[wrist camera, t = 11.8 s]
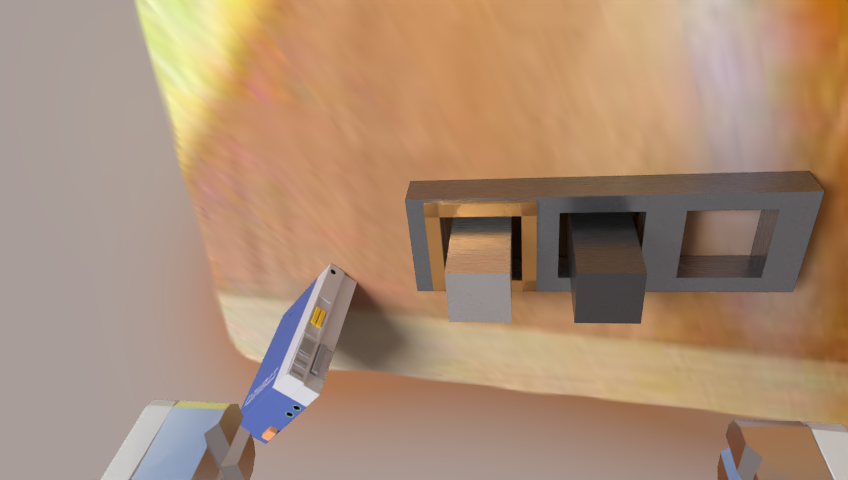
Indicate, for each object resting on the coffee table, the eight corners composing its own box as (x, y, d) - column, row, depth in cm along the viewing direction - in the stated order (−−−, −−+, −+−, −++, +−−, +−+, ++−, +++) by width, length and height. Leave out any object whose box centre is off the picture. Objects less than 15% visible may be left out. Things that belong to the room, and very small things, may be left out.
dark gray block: (627, 200, 43) (647, 273, 36) (623, 247, 45) (640, 323, 39) (568, 201, 43) (576, 273, 37) (566, 248, 46) (574, 322, 39)
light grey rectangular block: (511, 203, 44) (510, 273, 38) (512, 248, 46) (511, 322, 40) (455, 204, 45) (444, 273, 38) (459, 249, 47) (449, 321, 40)
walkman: (310, 331, 54) (264, 448, 44) (283, 314, 53) (230, 430, 44) (360, 280, 50) (321, 397, 40) (331, 262, 49) (285, 376, 40)
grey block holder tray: (809, 171, 40) (826, 193, 38) (780, 269, 44) (794, 294, 42) (410, 181, 44) (404, 202, 42) (421, 270, 48) (417, 293, 46)
